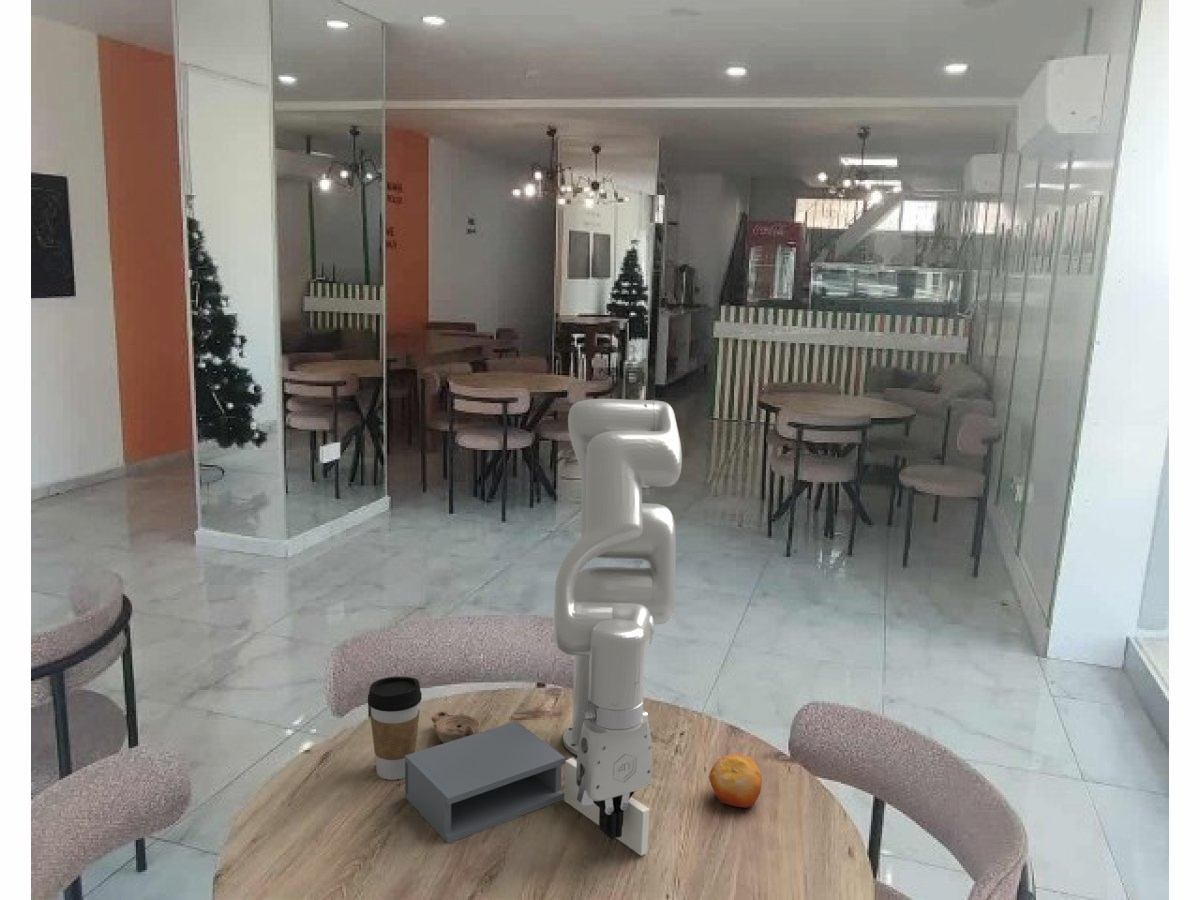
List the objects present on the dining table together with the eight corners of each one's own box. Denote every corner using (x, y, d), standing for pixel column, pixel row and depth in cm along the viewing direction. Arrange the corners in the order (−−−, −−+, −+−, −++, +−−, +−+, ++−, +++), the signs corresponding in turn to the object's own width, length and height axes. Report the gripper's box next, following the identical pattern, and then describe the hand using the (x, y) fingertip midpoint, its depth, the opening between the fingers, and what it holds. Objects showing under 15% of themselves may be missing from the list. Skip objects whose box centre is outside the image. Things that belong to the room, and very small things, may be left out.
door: (562, 799, 139) (563, 759, 138) (573, 794, 140) (575, 754, 139) (641, 855, 126) (643, 812, 124) (652, 849, 127) (654, 806, 126)
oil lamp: (421, 731, 159) (421, 705, 158) (459, 720, 163) (459, 694, 162) (456, 764, 149) (456, 736, 148) (495, 751, 153) (496, 724, 152)
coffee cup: (409, 788, 141) (409, 698, 138) (359, 780, 143) (357, 692, 140) (429, 760, 149) (429, 675, 146) (382, 754, 151) (381, 669, 148)
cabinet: (516, 759, 150) (517, 720, 149) (564, 799, 139) (565, 757, 138) (405, 797, 138) (405, 755, 137) (447, 843, 127) (448, 798, 126)
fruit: (770, 780, 144) (766, 752, 139) (757, 825, 139) (752, 798, 134) (721, 767, 147) (716, 740, 142) (707, 811, 142) (701, 784, 137)
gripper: (582, 734, 116) (578, 864, 119) (675, 710, 124) (669, 832, 127) (554, 711, 122) (550, 834, 125) (645, 689, 130) (639, 806, 133)
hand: (610, 833), depth 126 cm, fingers closed
